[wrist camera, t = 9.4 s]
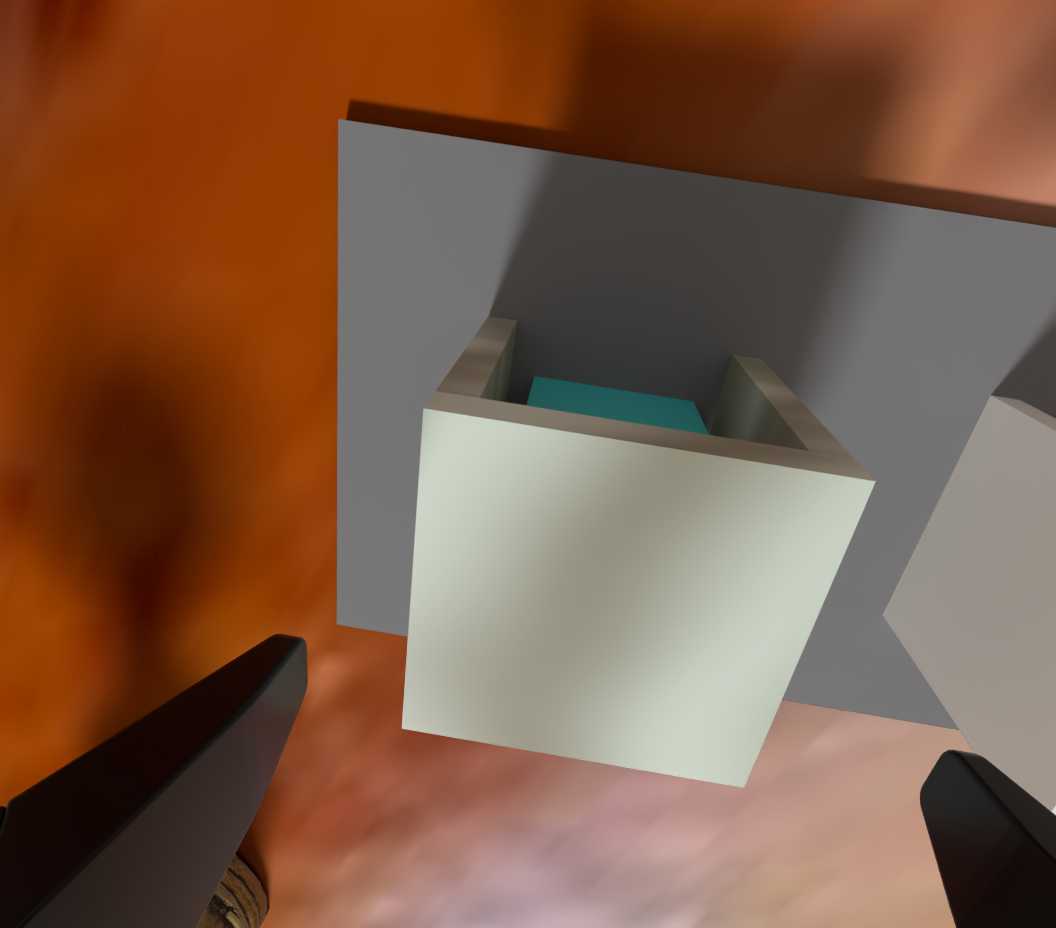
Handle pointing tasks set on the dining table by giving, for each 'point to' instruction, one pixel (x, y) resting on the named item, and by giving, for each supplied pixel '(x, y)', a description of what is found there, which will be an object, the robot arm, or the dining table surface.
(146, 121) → the dining table surface
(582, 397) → the cube
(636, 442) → the cover
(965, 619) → the cover
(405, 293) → the mat
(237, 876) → the wooden mug
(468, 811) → the dining table surface
